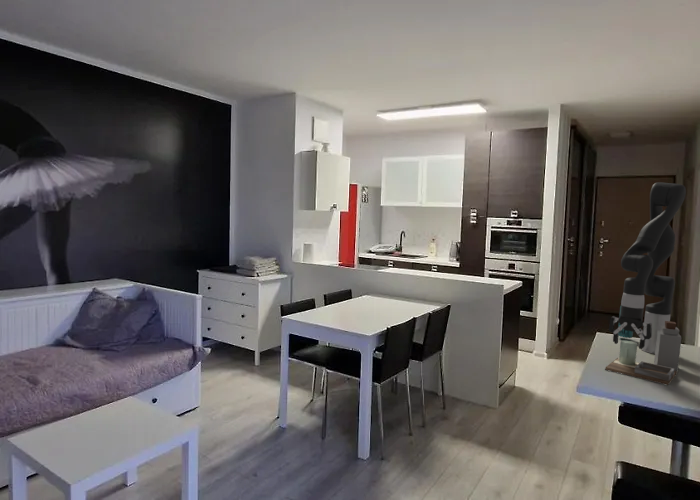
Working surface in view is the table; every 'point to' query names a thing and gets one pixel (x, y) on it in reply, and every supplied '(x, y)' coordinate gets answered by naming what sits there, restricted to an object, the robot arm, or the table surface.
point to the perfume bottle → (668, 346)
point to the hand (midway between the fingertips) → (628, 346)
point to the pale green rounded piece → (628, 352)
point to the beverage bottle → (624, 331)
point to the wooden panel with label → (644, 371)
